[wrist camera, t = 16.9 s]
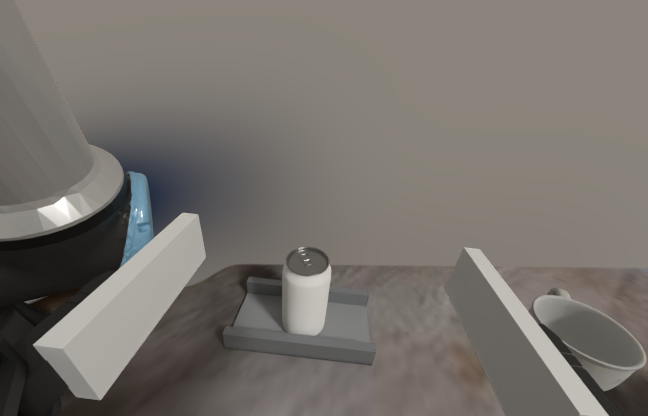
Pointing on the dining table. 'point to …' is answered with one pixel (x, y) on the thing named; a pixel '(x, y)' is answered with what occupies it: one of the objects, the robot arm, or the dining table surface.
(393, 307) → the dining table surface
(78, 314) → the robot arm
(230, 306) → the dining table surface
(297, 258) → the can
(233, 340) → the tray
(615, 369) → the teacup
